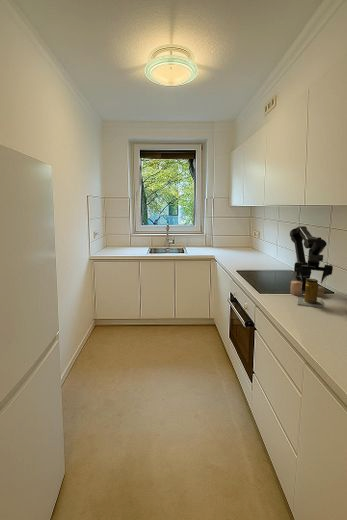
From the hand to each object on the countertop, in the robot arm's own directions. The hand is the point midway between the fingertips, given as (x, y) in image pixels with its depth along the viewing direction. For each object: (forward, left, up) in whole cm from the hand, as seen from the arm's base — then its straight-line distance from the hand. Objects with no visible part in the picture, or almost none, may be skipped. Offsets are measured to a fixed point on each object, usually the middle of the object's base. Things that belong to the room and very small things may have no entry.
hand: (311, 281), depth 162 cm
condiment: (+3, 0, -10) cm, 11 cm away
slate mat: (+3, -1, -11) cm, 11 cm away
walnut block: (-11, +10, -11) cm, 18 cm away
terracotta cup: (-14, -1, -11) cm, 18 cm away
